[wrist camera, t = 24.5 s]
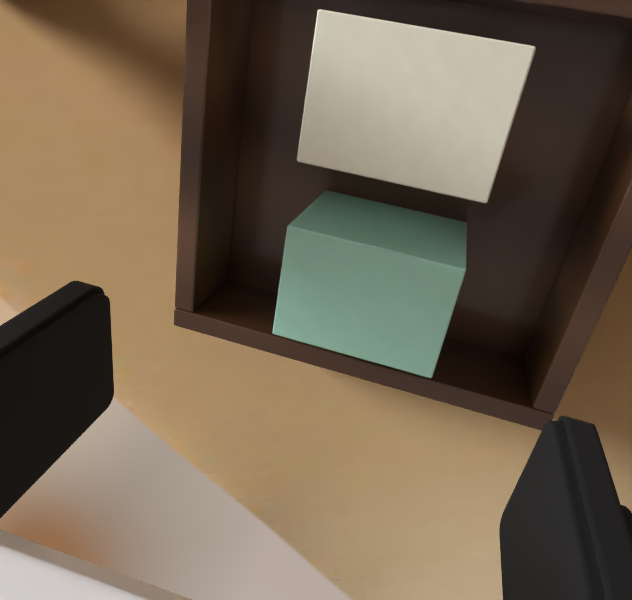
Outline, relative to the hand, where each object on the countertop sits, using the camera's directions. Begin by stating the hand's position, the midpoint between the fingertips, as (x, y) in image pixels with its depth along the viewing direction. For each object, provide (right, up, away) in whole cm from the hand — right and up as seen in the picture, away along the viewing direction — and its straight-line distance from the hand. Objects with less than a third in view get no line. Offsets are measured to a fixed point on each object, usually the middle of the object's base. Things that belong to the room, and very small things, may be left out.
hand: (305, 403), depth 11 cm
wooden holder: (+4, +7, +9) cm, 12 cm away
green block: (+3, +4, +10) cm, 11 cm away
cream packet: (+4, +9, +8) cm, 13 cm away
